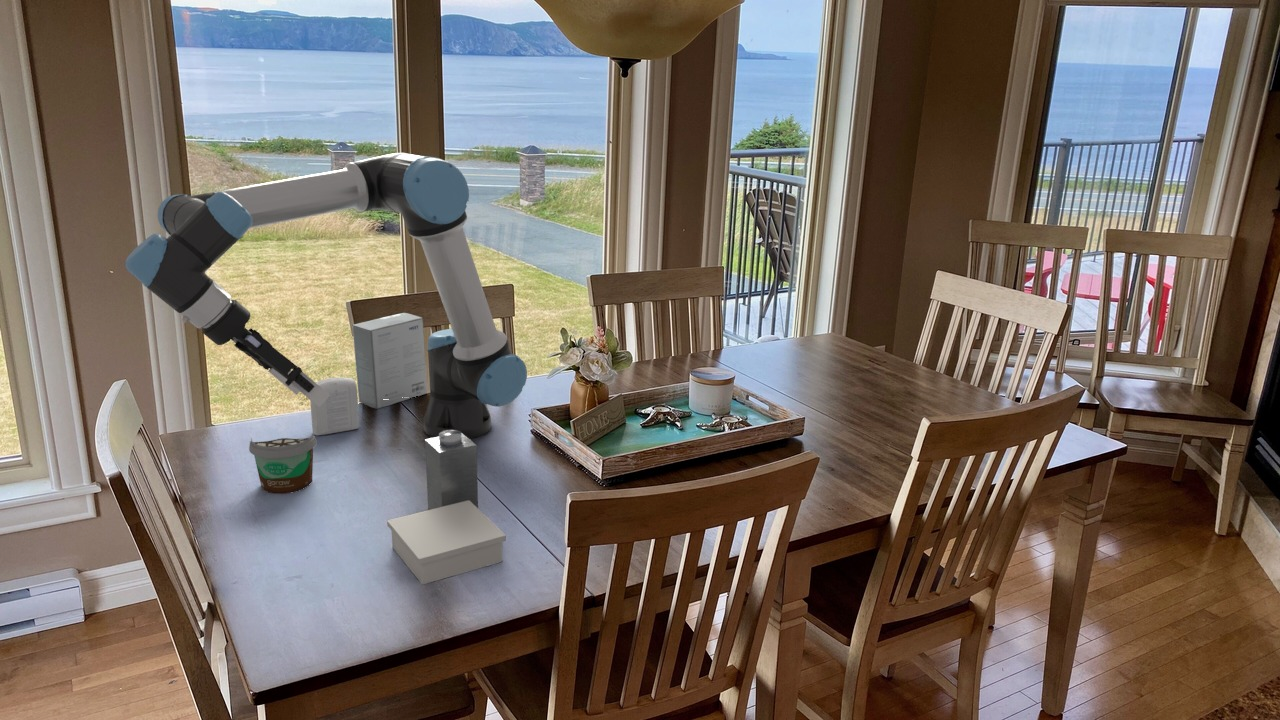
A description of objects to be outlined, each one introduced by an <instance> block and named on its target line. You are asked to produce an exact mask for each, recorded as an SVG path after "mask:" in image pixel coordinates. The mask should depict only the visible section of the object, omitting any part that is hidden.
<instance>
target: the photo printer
mask: <svg viewBox="0 0 1280 720" xmlns="http://www.w3.org/2000/svg"><path fill="white" fill-rule="evenodd" d="M315 383H316V384H318V385H319V386H320V387H321V388H322V389H323V390H325V391H326V392H327V393H328V394H329V395H330V396H329V397H328V398H327V399H326V400H325V402H324V403H323V404H322V405H321V406H320V407H318V406H317V405H316V404H314V403H313V402H312V401H311V400H310V399H309V402H310V416H311V417H310V418H311V429H312V434H313V435H314V436H324V435H330V434H334V433H341V432H347V431H348V432H349V431H352V430H357V429H359V428H360V417H359V396H358V385H357V384H356V383H357V382H356V380H355V379H354V378H350V377H342V376H338V377H329V378H325V379H321V380H319V381H317V382H316V381H315Z"/></svg>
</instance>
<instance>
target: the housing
mask: <svg viewBox="0 0 1280 720" xmlns="http://www.w3.org/2000/svg"><path fill="white" fill-rule="evenodd" d="M424 445H425V446H424V447H425V449H424V450H425V466H426V467H425V468H426V487H427V489H426V493H427V509H428V510H431V509H435V508H439V507H443V506H447V505H452V504H456V503H460V502H464V501H468V500H469V501H471V502H472V503H473V504H474V505H475V506H476V507H477V508H478V509H479V492H478V490H479V489H478V488H479V486H478V483H479V482H478V458H477V457H478V455H477V454H478V453H477V449H478V447H477V444H476V443H475V442H473V441H472V439H471V438H467V437H466V436H465V435H464V434H463V433H461V432H460V431H458V430H445V431H442V432H440V433H439V437H430V438H426V439H424Z"/></svg>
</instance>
